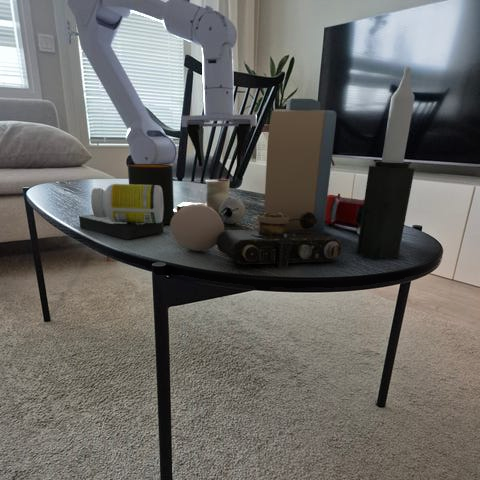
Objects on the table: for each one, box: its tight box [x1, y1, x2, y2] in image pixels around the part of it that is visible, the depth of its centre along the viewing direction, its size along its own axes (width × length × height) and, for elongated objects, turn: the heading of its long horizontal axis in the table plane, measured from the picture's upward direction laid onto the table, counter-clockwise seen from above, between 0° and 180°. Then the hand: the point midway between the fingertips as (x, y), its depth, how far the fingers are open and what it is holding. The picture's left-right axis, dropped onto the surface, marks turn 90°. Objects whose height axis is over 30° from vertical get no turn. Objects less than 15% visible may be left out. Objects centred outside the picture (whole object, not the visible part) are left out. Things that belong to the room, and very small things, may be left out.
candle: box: [356, 66, 416, 261], centre depth 60 cm, size 5×5×25 cm
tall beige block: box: [263, 98, 337, 234], centre depth 72 cm, size 21×10×22 cm, turn 168°
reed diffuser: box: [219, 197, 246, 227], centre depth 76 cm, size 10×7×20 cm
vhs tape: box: [78, 213, 164, 240], centre depth 75 cm, size 14×8×2 cm, turn 50°
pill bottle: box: [90, 183, 164, 223], centre depth 70 cm, size 6×6×11 cm
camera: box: [216, 212, 343, 269], centre depth 59 cm, size 16×7×8 cm
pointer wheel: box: [205, 178, 230, 207], centre depth 87 cm, size 5×5×5 cm
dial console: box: [176, 201, 224, 222], centre depth 89 cm, size 12×9×3 cm
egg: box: [169, 204, 225, 252], centre depth 63 cm, size 7×7×10 cm
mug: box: [127, 163, 175, 225], centre depth 83 cm, size 8×12×10 cm
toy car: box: [324, 193, 364, 229], centre depth 81 cm, size 6×14×5 cm
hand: (220, 166), depth 85 cm, fingers open, 7 cm apart
